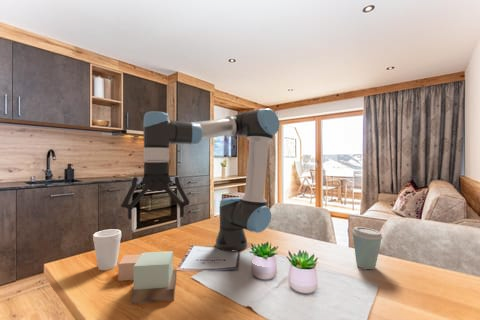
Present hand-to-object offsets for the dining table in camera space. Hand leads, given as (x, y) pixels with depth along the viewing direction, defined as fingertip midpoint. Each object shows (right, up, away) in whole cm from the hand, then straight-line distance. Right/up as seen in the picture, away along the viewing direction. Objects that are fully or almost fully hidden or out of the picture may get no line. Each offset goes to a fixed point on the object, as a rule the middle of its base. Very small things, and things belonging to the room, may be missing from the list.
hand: (156, 228), depth 76 cm
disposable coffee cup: (+77, -21, +18) cm, 81 cm away
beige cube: (-13, -20, +10) cm, 26 cm away
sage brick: (-1, -17, 0) cm, 17 cm away
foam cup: (-25, -20, +16) cm, 36 cm away
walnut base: (0, -21, 0) cm, 21 cm away
